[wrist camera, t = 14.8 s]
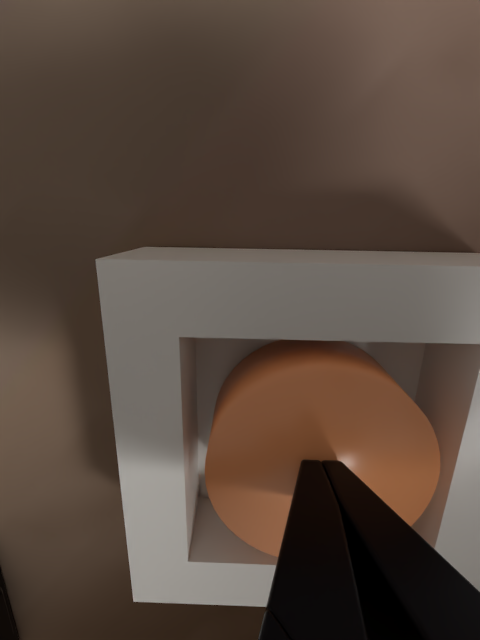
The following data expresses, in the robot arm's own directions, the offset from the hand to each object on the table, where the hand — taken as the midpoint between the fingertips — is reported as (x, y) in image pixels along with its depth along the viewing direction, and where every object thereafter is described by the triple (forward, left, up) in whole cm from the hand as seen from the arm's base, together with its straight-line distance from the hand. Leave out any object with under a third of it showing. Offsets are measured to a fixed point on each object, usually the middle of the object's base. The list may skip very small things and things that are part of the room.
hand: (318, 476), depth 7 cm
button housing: (0, 0, -3) cm, 3 cm away
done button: (0, 0, -2) cm, 2 cm away
